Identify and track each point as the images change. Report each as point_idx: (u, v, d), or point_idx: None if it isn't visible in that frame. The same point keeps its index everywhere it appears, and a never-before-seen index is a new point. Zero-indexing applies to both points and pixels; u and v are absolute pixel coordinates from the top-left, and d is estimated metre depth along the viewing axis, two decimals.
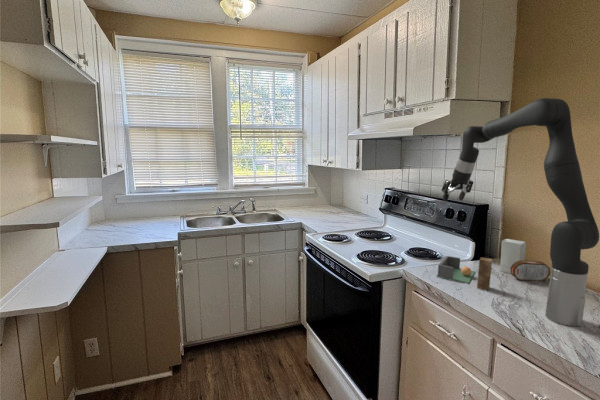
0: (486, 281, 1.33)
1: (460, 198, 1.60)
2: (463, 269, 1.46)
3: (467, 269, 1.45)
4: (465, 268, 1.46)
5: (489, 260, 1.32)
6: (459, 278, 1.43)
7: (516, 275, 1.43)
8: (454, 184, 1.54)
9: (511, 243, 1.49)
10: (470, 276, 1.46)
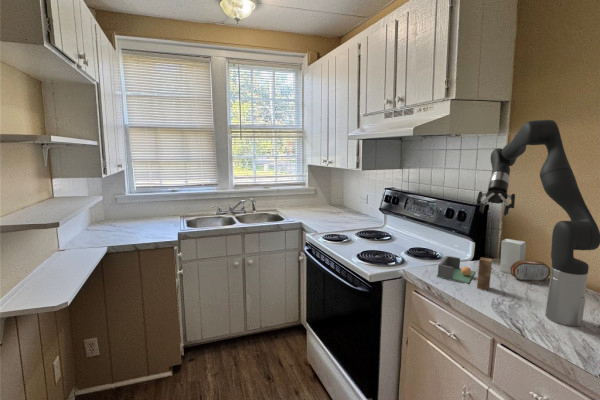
0: (486, 281, 1.33)
1: (504, 212, 1.40)
2: (463, 269, 1.46)
3: (467, 269, 1.45)
4: (465, 268, 1.46)
5: (489, 260, 1.32)
6: (459, 278, 1.43)
7: (516, 275, 1.43)
8: (488, 194, 1.47)
9: (511, 243, 1.49)
10: (470, 276, 1.46)
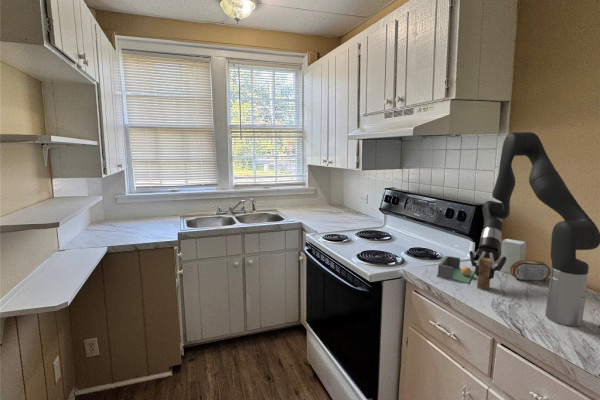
0: (486, 281, 1.33)
1: None
2: (463, 269, 1.46)
3: (467, 269, 1.45)
4: (465, 268, 1.46)
5: (489, 260, 1.32)
6: (459, 278, 1.43)
7: (516, 275, 1.43)
8: (479, 254, 1.38)
9: (511, 243, 1.49)
10: (470, 276, 1.46)
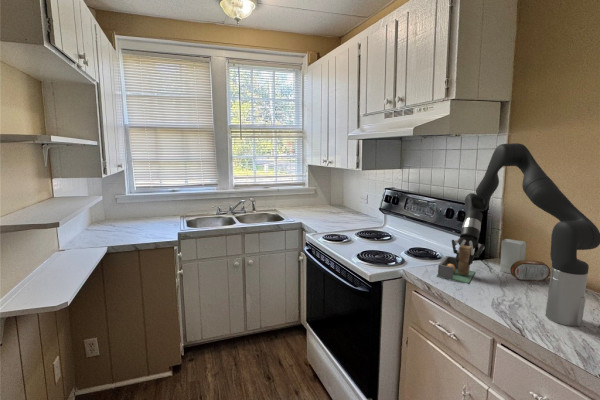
0: (465, 266, 1.45)
1: None
2: None
3: None
4: None
5: (468, 247, 1.45)
6: (459, 278, 1.43)
7: (516, 275, 1.43)
8: (460, 242, 1.50)
9: (511, 243, 1.49)
10: (470, 276, 1.46)
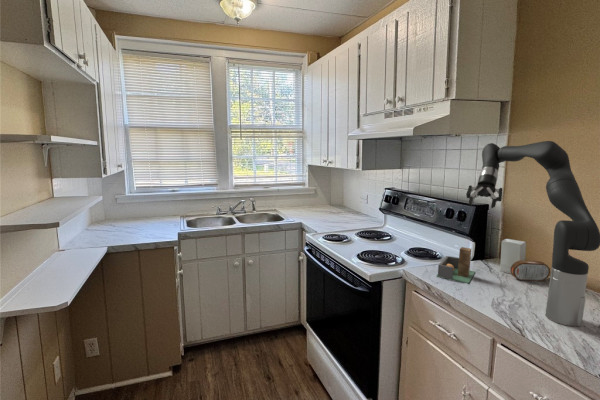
0: (465, 268, 1.45)
1: None
2: None
3: None
4: None
5: (468, 249, 1.45)
6: (459, 278, 1.43)
7: (516, 275, 1.43)
8: (477, 188, 1.55)
9: (511, 243, 1.49)
10: (470, 276, 1.46)
